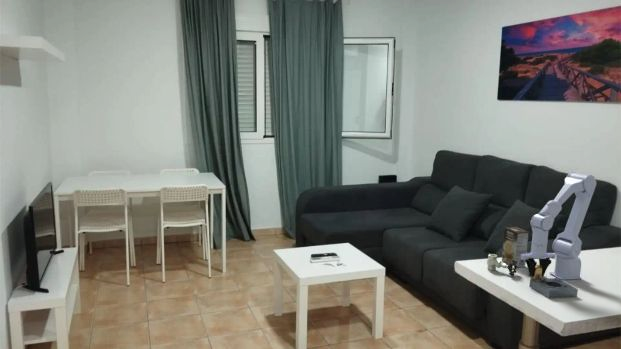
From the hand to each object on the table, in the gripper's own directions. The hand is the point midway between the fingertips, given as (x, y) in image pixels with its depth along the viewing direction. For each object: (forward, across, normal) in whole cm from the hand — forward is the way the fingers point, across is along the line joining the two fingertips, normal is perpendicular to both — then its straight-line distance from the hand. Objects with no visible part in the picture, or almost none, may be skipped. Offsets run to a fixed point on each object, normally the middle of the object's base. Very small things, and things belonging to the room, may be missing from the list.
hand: (536, 275), depth 208 cm
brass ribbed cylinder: (+2, 0, 0) cm, 2 cm away
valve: (+2, -9, +12) cm, 15 cm away
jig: (+2, -1, -12) cm, 12 cm away
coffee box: (+2, +3, +21) cm, 21 cm away
